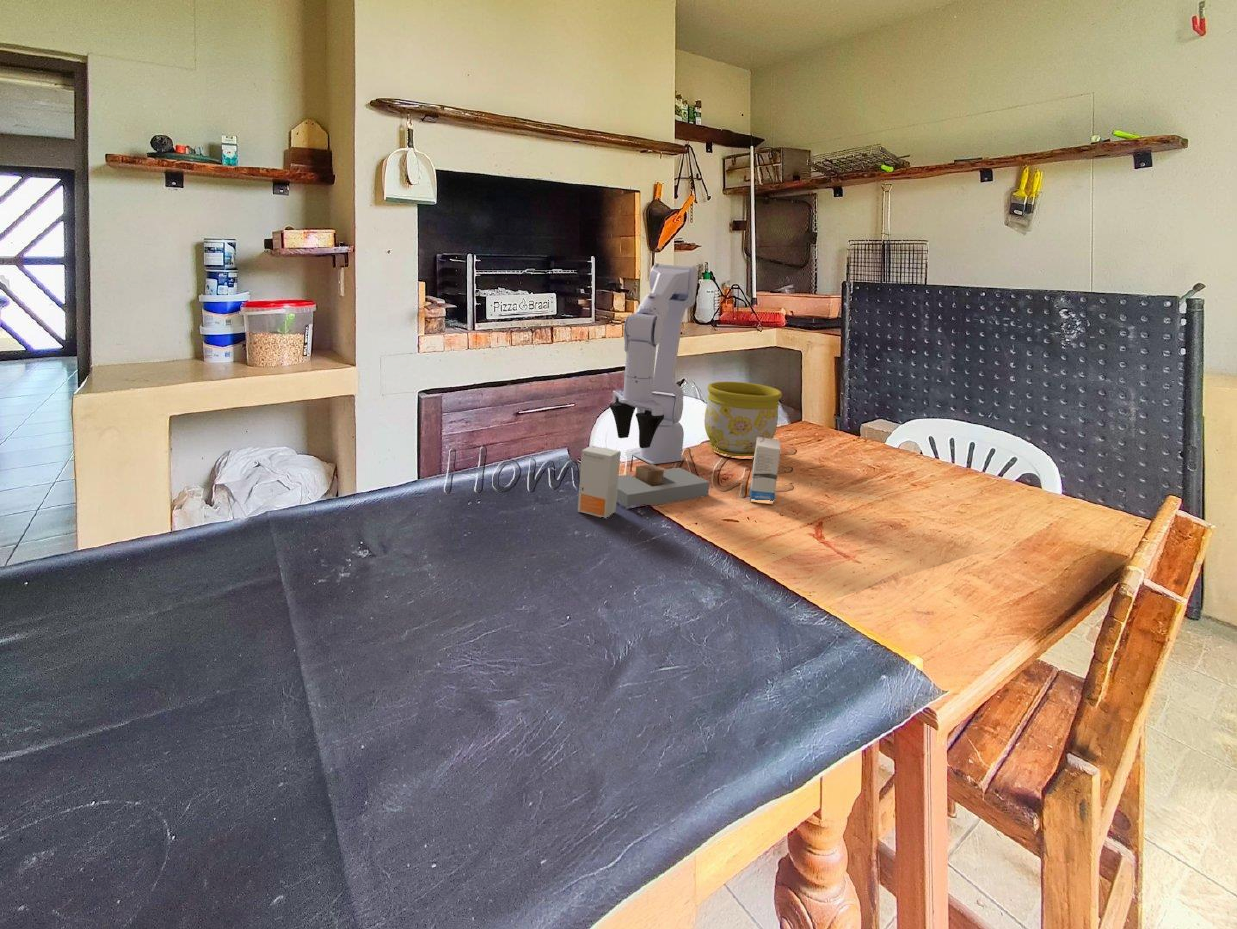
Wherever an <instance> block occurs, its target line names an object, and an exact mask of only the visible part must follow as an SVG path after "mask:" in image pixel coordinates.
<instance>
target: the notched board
mask: <svg viewBox="0 0 1237 929" xmlns="http://www.w3.org/2000/svg"><path fill="white" fill-rule="evenodd" d="M663 470H664V474H663V484H662V485H660V486H654V487H652V486H650V485H648V484H646V483H644V482H642V481H640V480H639V479H637V478H635V476H633V475H631V474H629V473H628V474H622V475H619V476H618V488H617V500H616V502H618V503H620V504H621V505H625V506H626V507H629V506H631V505H638V504H646V505H651V506H657V505H663V504H667V503H674V502H675V503H676V502H679V501H685V500H691V499H698V498H703V497H702V496H704V497H707V496H706V495H708V496H709V492H710V491H709V490H710V484H711V482H710V481H709V480H707V479H705V478H702V477H700V476H698V475H696V474H694V473H692V472H690V471H688V470H686V469H684V468H681V467H673V468H666V469H663ZM651 506H650V507H651Z"/></svg>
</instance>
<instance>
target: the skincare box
mask: <svg viewBox="0 0 1237 929" xmlns="http://www.w3.org/2000/svg"><path fill="white" fill-rule="evenodd" d="M621 452H622V451H620V450H616V449H612V448H611V449H610V448H607V447H601V446H597V445H590V446H587V447H586V448H584V449H582V450H581V456H580V457H581V459H580V460H581V461H580V471H579V473H580V474H579V486H578V501H577V502H578V503H577V512H578V513H583V514H587V515H589V516H590V515H591V516H594V517H597V518H601V517H604V518H606V517H608V518H609V517H611V516H612V515H613V514H612V513H614V512H615V513H616V512H617V511H616V510H617V503H616V500H617V488H618V476H620V475H619V474H620V464H621ZM615 513H614V514H615ZM611 514H612V515H611ZM610 515H611V516H610ZM604 518H603V519H604Z"/></svg>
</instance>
